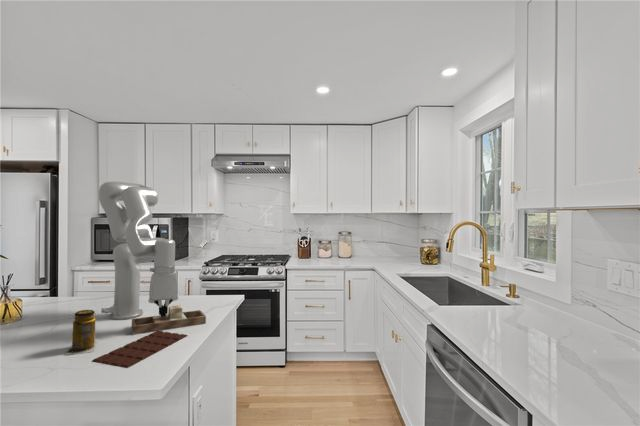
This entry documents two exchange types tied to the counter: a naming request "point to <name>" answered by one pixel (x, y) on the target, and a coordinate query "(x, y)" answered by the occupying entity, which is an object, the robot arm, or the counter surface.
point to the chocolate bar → (139, 349)
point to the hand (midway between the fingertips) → (163, 316)
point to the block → (175, 312)
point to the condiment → (83, 333)
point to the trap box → (167, 322)
